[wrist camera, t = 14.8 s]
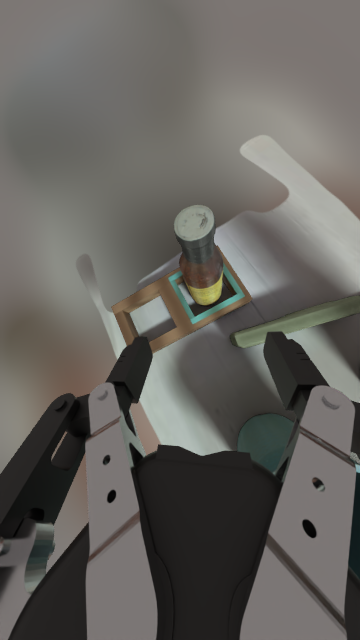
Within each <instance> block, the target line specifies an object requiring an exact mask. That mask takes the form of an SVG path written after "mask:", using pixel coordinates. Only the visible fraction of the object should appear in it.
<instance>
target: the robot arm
mask: <svg viewBox="0 0 360 640" xmlns="http://www.w3.org/2000/svg"><path fill="white" fill-rule="evenodd" d="M263 353H264V358H265V361H266V363H267V365H268V368H269V370H270V373H271V375H272V378H273V380H274V383H275V385H276V387H277V390H278V392H279V395H280V397H281V400H282V402H283V405H284V407H285V409H286V410H294V412H295V414H296V419H295V421H294V424H293V427H292V430H291V432H290V435H289V438H288V441H287V444H286V447H285V449H284V452H283V454H282V456H281V459H280V461H279V463H278V466H277V469H276V471H275V474H273V473H272V472H271V471H270V470H269V469H267V468H266V467H264V466H263V465H262V464H260V463H258V462H256V461H254V460H252V459H251V456H250V453H248V452H237V451H221V452H217V453H213V454H209V455H205V456H200V455H198V454H195V453H193V452H191V451H188V450H186V449H184V448H182V447H179V446H170V445H158V449H157V451H155V452H152V453H150V454H148V455H147V456H146V453H145V451H144V448H143V446H142V444H141V442H140V439H139V437H138V433H137V430H136V427H135V424H134V420H133V417H132V414H131V411H130V406H131V403H138V401H139V398H140V395H141V392H142V389H143V386H144V383H145V380H146V377H147V374H148V371H149V368H150V365H151V362H152V358H153V353H152V350H151V347H150V344H149V342H148V339H147V337H135V338H134V340H133V342H132V344H131V345H128V346H127V347H126V348H125V349H124V350H123V351H122V353H121V355H120V357H119V359H118V360H117V362H116V364H115V366H114V368H113V370H112V371H111V373H110V375H109V377H108V379H107V380H106V382H105V383H103V384H100V385H99V386H97V387H96V388H95V389H94V390H93V391H92V392H91V394H87V395H84V396H81V397H77V398H76V397H75V396H74V395H73V394H71V393H68V394H64V395H61V396H60V397H58V398H57V399H55V400H54V401H53V402H52V403H51V404H50V406H49V407H48V409H47V410H46V411H45V413H44V414H43V415H42V417H41V418H40V420H39V421H38V423H37V424H36V425H35V427H34V428H33V429H32V431H31V433H30V434H29V435H28V437H27V438H26V439H25V441H24V442H23V443H22V445H21V446H20V448H19V449H18V451H17V452H16V453H15V455H14V456H13V458H12V459H11V460H10V462H9V463H8V464H7V466H6V467H5V469H4V470H3V471H2V473H1V474H0V640H360V579H359V578H358V577H357V575H356V574H355V573H354V572H353V570H352V569H351V568H350V567H349V565H348V559H349V548H350V536H351V525H352V514H353V503H354V492H355V481H356V465H355V463H354V462H353V461H352V460H351V459H350V451H351V452H354V453H356V454H357V456H358V458H359V459H360V403H357V402H354V401H351V400H350V399H349V398H348V397H347V396H346V395H344V394H343V393H342V392H340V391H338V390H336V389H334V388H332V387H330V386H329V385H328V383H327V382H326V380H325V379H324V378H323V376H322V375H321V373H320V372H319V370H318V369H317V368H316V366H315V365H314V363H313V362H312V361H311V360H310V358H309V356H308V355H307V354H306V352H305V351H304V349H303V348H302V346H301V345H300V344H298V343H297V342H295V341H294V340H293V339H287V338H286V336H285V335H284V333H283V332H282V331H274V332H267V335H266V339H265V344H264V350H263ZM65 431H66V432H67V434H66V436H65V437H64V439H63V441H62V443H61V445H60V447H59V448H58V450H57V452H56V454H55V456H54V458H53V459H52V461H51V457H52V454H53V452H54V451H55V448H56V447H57V445H58V443H59V442H60V440H61V438H62V436H63V434H64V433H65ZM85 452H86V472H87V493H88V514H89V522H88V523H87V525H86V526H85V527H84V528H83V529H82V531H81V532H80V533H79V534H78V536H77V537H76V538H75V539H74V540H73V542H72V543H71V544H70V545H69V547H68V548H67V549H66V550H65V551H64V553H63V554H62V555H61V556H60V558H59V559H58V560H57V561H56V563H55V564H54V565H53V566H52V567H51V569H50V570H49V571H48V572H47V574H46V566H47V561H48V560H49V558H50V557H51V555H52V553H53V551H54V547H55V540H54V527H53V526H54V523H55V521H56V519H57V517H58V514H59V512H60V510H61V507H62V505H63V503H64V500H65V498H66V496H67V493H68V491H69V489H70V486H71V484H72V482H73V479H74V477H75V475H76V473H77V470H78V468H79V466H80V463H81V461H82V459H83V456H84V454H85Z"/></svg>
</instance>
